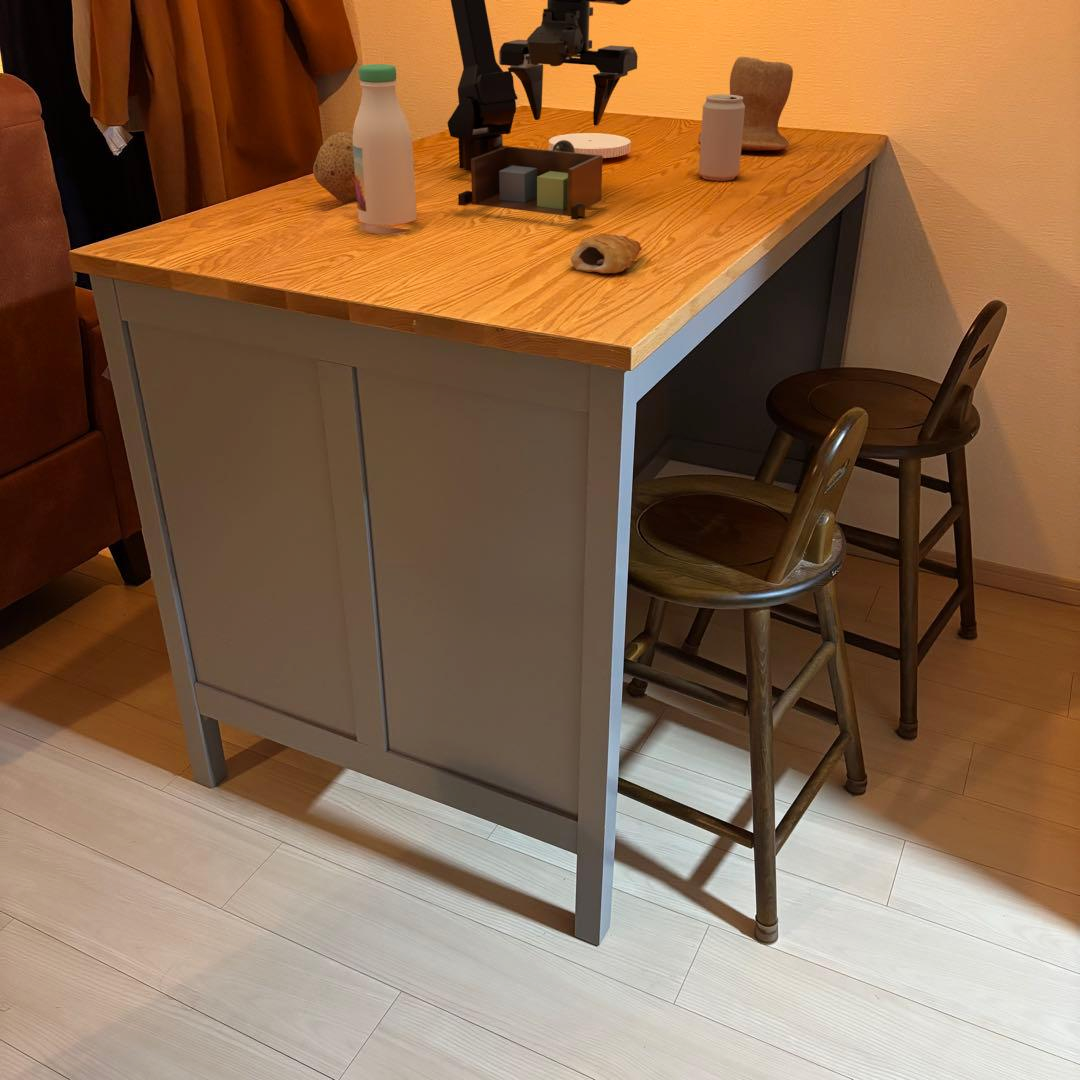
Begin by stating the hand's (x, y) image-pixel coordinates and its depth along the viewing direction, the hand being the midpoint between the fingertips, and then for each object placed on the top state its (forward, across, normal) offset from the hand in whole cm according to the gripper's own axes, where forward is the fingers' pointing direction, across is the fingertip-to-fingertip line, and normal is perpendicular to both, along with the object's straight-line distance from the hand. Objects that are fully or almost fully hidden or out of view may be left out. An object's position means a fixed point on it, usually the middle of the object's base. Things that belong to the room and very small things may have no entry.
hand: (566, 122), depth 152 cm
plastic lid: (+11, -9, +30) cm, 33 cm away
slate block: (+9, -3, -8) cm, 13 cm away
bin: (+10, 0, -6) cm, 12 cm away
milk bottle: (+11, -14, -26) cm, 31 cm away
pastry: (+10, +19, -29) cm, 36 cm away
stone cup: (+11, +13, +47) cm, 50 cm away
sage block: (+9, +3, -10) cm, 13 cm away
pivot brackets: (+10, 0, -14) cm, 18 cm away
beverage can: (+11, +16, +23) cm, 30 cm away
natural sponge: (+11, -26, -17) cm, 33 cm away
